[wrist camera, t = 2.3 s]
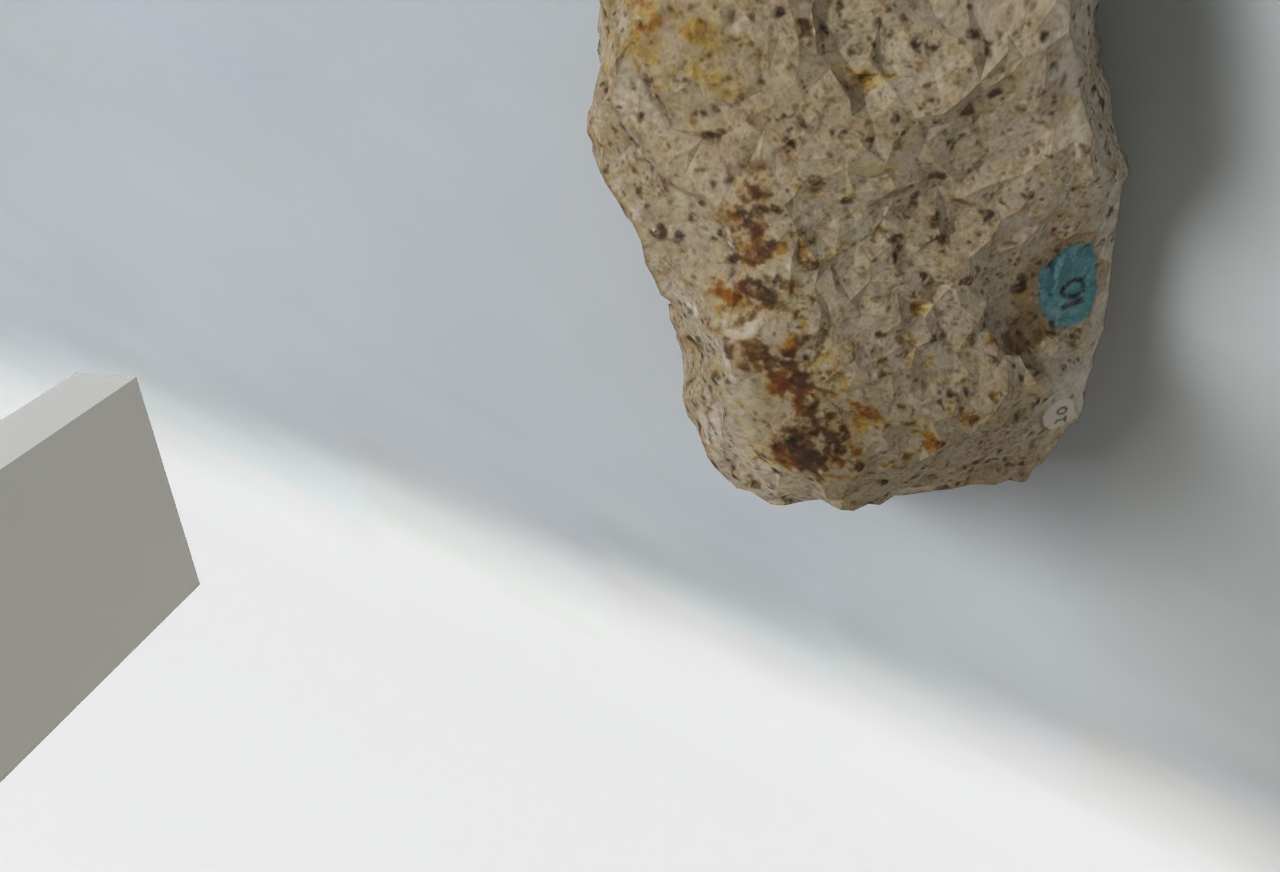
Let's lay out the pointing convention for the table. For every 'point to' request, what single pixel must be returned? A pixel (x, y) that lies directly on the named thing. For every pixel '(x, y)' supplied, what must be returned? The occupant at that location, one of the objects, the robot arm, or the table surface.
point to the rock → (868, 228)
